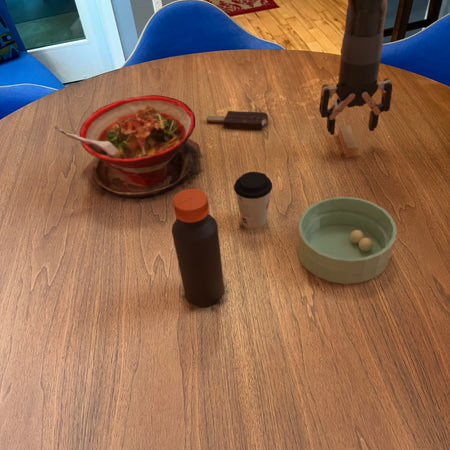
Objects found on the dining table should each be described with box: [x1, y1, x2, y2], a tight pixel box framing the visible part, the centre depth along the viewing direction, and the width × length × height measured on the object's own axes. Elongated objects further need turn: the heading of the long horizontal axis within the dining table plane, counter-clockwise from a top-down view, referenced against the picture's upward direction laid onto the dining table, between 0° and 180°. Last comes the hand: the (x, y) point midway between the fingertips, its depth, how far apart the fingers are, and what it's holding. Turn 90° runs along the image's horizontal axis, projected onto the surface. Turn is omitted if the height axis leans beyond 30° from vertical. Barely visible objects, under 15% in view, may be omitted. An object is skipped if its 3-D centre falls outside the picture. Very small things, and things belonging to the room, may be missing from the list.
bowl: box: [296, 196, 398, 285], centre depth 83 cm, size 16×16×6 cm
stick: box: [337, 124, 359, 159], centre depth 106 cm, size 2×9×2 cm, turn 3°
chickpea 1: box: [350, 230, 364, 243], centre depth 86 cm, size 2×2×2 cm
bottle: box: [171, 188, 225, 308], centre depth 74 cm, size 7×7×20 cm
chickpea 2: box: [359, 238, 373, 251], centre depth 84 cm, size 2×2×2 cm
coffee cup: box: [233, 171, 273, 230], centre depth 89 cm, size 7×7×10 cm
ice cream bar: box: [205, 110, 269, 131], centre depth 116 cm, size 5×2×15 cm
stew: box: [54, 94, 202, 200], centre depth 99 cm, size 28×24×16 cm
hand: (351, 131), depth 104 cm, fingers open, 8 cm apart
